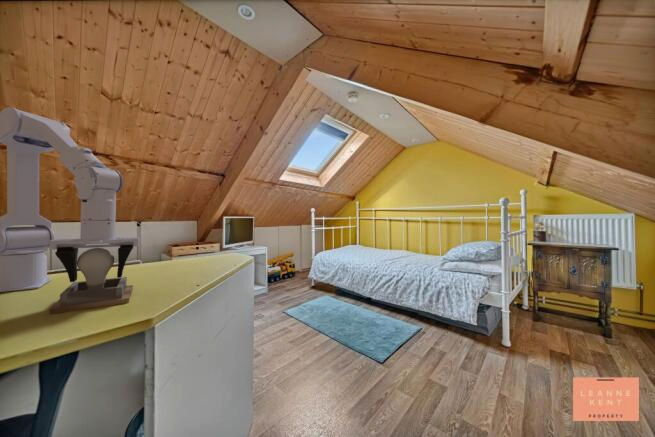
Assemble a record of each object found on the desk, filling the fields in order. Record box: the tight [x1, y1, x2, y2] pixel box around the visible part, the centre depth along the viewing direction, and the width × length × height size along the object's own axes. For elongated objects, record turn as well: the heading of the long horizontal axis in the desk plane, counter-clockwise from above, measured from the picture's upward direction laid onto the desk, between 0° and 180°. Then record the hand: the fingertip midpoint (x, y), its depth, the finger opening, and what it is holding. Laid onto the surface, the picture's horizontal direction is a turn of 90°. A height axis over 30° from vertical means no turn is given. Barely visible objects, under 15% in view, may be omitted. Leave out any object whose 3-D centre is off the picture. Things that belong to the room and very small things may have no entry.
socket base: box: [48, 276, 134, 315], centre depth 54 cm, size 11×12×4 cm
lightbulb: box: [77, 247, 115, 290], centre depth 54 cm, size 6×6×11 cm
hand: (97, 278), depth 54 cm, fingers open, 7 cm apart
